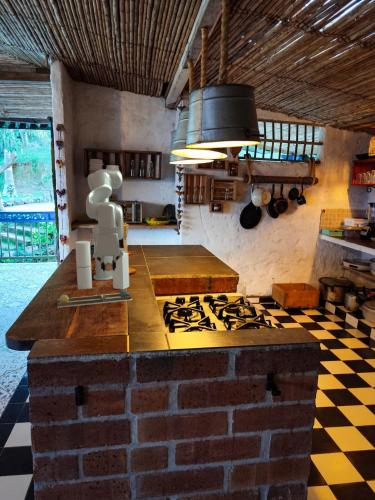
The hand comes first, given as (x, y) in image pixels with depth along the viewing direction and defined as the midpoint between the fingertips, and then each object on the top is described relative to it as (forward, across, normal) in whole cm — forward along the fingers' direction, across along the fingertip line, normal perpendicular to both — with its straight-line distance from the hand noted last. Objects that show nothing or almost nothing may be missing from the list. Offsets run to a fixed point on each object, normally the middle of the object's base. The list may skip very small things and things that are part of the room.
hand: (108, 270), depth 162 cm
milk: (+15, -8, -18) cm, 25 cm away
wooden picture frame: (+14, +13, 0) cm, 19 cm away
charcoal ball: (+12, -6, 0) cm, 14 cm away
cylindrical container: (+15, +10, -23) cm, 30 cm away
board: (+15, +7, -1) cm, 17 cm away
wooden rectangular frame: (+14, -4, 0) cm, 14 cm away
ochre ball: (+12, +20, 0) cm, 23 cm away
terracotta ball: (-2, 0, 0) cm, 2 cm away
